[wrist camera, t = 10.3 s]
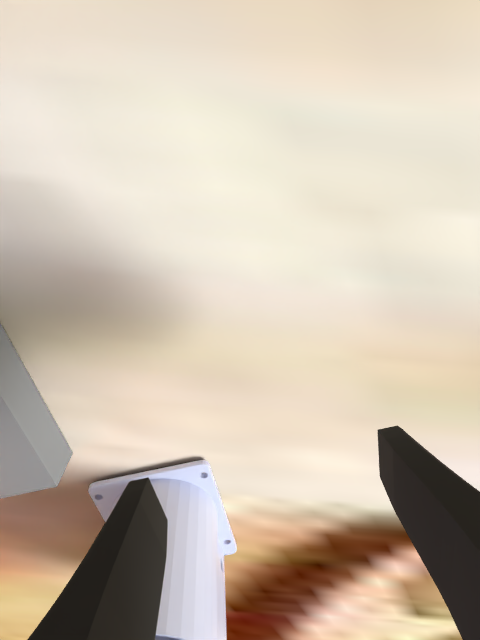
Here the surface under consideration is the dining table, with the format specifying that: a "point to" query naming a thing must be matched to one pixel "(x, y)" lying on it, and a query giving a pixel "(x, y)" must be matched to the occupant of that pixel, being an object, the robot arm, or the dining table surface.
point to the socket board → (26, 431)
